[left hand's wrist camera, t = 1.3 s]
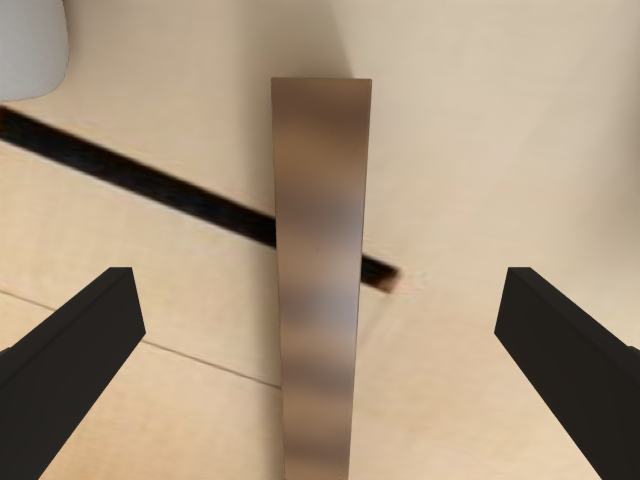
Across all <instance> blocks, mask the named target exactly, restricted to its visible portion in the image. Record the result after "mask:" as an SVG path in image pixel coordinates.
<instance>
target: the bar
mask: <svg viewBox="0 0 640 480" xmlns="http://www.w3.org/2000/svg"><path fill="white" fill-rule="evenodd" d="M371 92H372V79H347V78H271V99H272V127H273V155H274V183H275V211H276V239H277V267H278V295H279V323H280V351H281V379H282V408H283V436H284V464H285V480H348V475H349V458H350V441H351V425H352V408H353V392H354V375H355V358H356V342H357V325H358V308H359V292H360V275H361V258H362V242H363V225H364V208H365V192H366V175H367V158H368V142H369V125H370V108H371Z"/></svg>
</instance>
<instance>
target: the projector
mask: <svg viewBox="0 0 640 480" xmlns="http://www.w3.org/2000/svg"><path fill="white" fill-rule="evenodd" d="M68 60H69V42H68V31H67V25H66V18H65V11H64V6H63V0H0V102H5V101H19V100H26V99H32V98H37V97H40V96H43V95H46V94H48V93H50V92H52V91H53V90H55V89H56V88H57V87H58V86H59V85H60V84H61V82H62V80H63V79H64V77H65V74H66V70H67V66H68Z"/></svg>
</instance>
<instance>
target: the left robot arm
mask: <svg viewBox="0 0 640 480" xmlns="http://www.w3.org/2000/svg"><path fill="white" fill-rule="evenodd" d="M145 334H146V331H145V326H144V322H143V317H142V312H141V308H140V303H139V299H138V294H137V289H136V285H135V280H134V275H133V271H132V267H110V268H108V269H107V270H106V271H105V272H103V273H102V274H101V275H100V276H98V277H97V278H96V279H95V280H94V281H92V282H91V283H90V284H89V285H87V286H86V287H85V288H84V289H82V290H81V291H80V292H79V293H77V294H76V295H75V296H74V297H73V298H71V299H70V300H69V301H68V302H66V303H65V304H64V305H63V306H61V307H60V308H59V309H58V310H56V311H55V312H54V313H53V314H52V315H50V316H49V317H48V318H47V319H45V320H44V321H43V322H42V323H40V324H39V325H38V326H37V327H35V328H34V329H33V330H32V331H31V332H29V333H28V334H27V335H26V336H24V337H23V338H22V339H21V340H19V341H18V342H17V343H16V344H15V345H13V346H12V347H8V348H6V349H5V350H3V351H1V352H0V480H38V479H39V478H40V476H41V475H42V474H43V472H44V471H45V470H46V468H47V467H48V465H49V464H50V463H51V461H52V460H53V459H54V457H55V456H56V455H57V453H58V452H59V451H60V449H61V448H62V446H63V445H64V444H65V442H66V441H67V440H68V438H69V437H70V436H71V434H72V433H73V432H74V430H75V429H76V427H77V426H78V425H79V423H80V422H81V421H82V419H83V418H84V417H85V415H86V414H87V413H88V411H89V410H90V408H91V407H92V406H93V404H94V403H95V402H96V400H97V399H98V398H99V396H100V395H101V394H102V392H103V391H104V389H105V388H106V387H107V385H108V384H109V383H110V381H111V380H112V379H113V377H114V376H115V375H116V373H117V372H118V370H119V369H120V368H121V366H122V365H123V364H124V362H125V361H126V360H127V358H128V357H129V356H130V354H131V353H132V351H133V350H134V349H135V347H136V346H137V345H138V343H139V342H140V341H141V339H142V338H143V337H144V335H145ZM494 334H495V335H496V337H497V338H498V339H499V341H500V342H501V343H502V345H503V346H504V347H505V349H506V350H507V351H508V353H509V354H510V356H511V357H512V358H513V360H514V361H515V362H516V364H517V365H518V366H519V368H520V369H521V370H522V372H523V373H524V375H525V376H526V377H527V379H528V380H529V381H530V383H531V384H532V385H533V387H534V388H535V389H536V391H537V392H538V394H539V395H540V396H541V398H542V399H543V400H544V402H545V403H546V404H547V406H548V407H549V408H550V410H551V411H552V413H553V414H554V415H555V417H556V418H557V419H558V421H559V422H560V423H561V425H562V426H563V427H564V429H565V430H566V432H567V433H568V434H569V436H570V437H571V438H572V440H573V441H574V442H575V444H576V445H577V446H578V448H579V449H580V451H581V452H582V453H583V455H584V456H585V457H586V459H587V460H588V461H589V463H590V464H591V465H592V467H593V468H594V470H595V471H596V472H597V474H598V475H599V476H600V478H601V479H602V480H640V350H638V349H636V348H635V347H633V346H627V345H625V344H624V343H623V342H622V341H621V340H619V339H618V338H617V337H616V336H614V335H613V334H612V333H611V332H609V331H608V330H607V329H606V328H605V327H603V326H602V325H601V324H600V323H598V322H597V321H596V320H595V319H593V318H592V317H591V316H590V315H588V314H587V313H586V312H585V311H584V310H582V309H581V308H580V307H579V306H577V305H576V304H575V303H574V302H572V301H571V300H570V299H569V298H567V297H566V296H565V295H564V294H563V293H561V292H560V291H559V290H558V289H556V288H555V287H554V286H553V285H551V284H550V283H549V282H548V281H546V280H545V279H544V278H543V277H542V276H540V275H539V274H538V273H537V272H535V271H534V270H533V269H532V268H530V267H508V271H507V275H506V280H505V285H504V289H503V294H502V299H501V303H500V308H499V312H498V317H497V322H496V326H495V331H494Z"/></svg>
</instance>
